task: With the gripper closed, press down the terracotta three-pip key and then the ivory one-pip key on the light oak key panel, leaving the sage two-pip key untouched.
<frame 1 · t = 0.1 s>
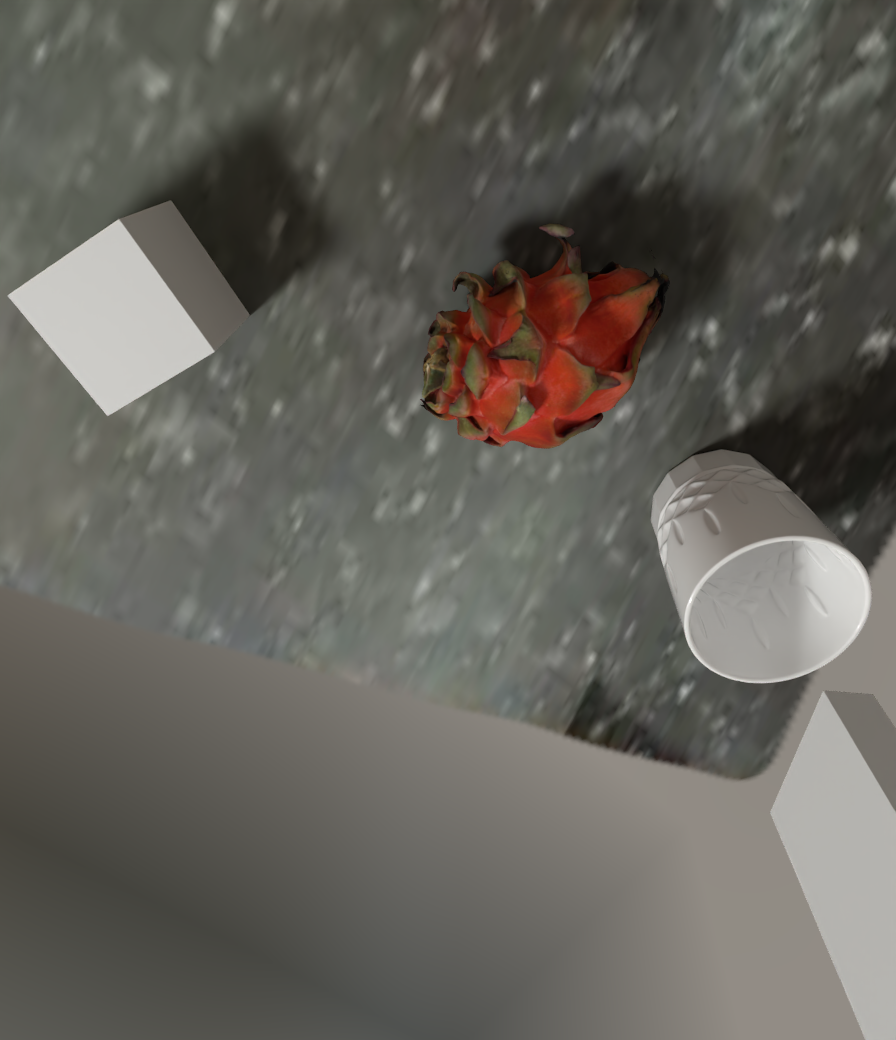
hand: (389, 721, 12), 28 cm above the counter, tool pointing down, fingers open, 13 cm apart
white cup: (711, 502, 42), on the counter
white cube: (164, 289, 37), on the counter
dragon fruit: (534, 322, 37), on the counter
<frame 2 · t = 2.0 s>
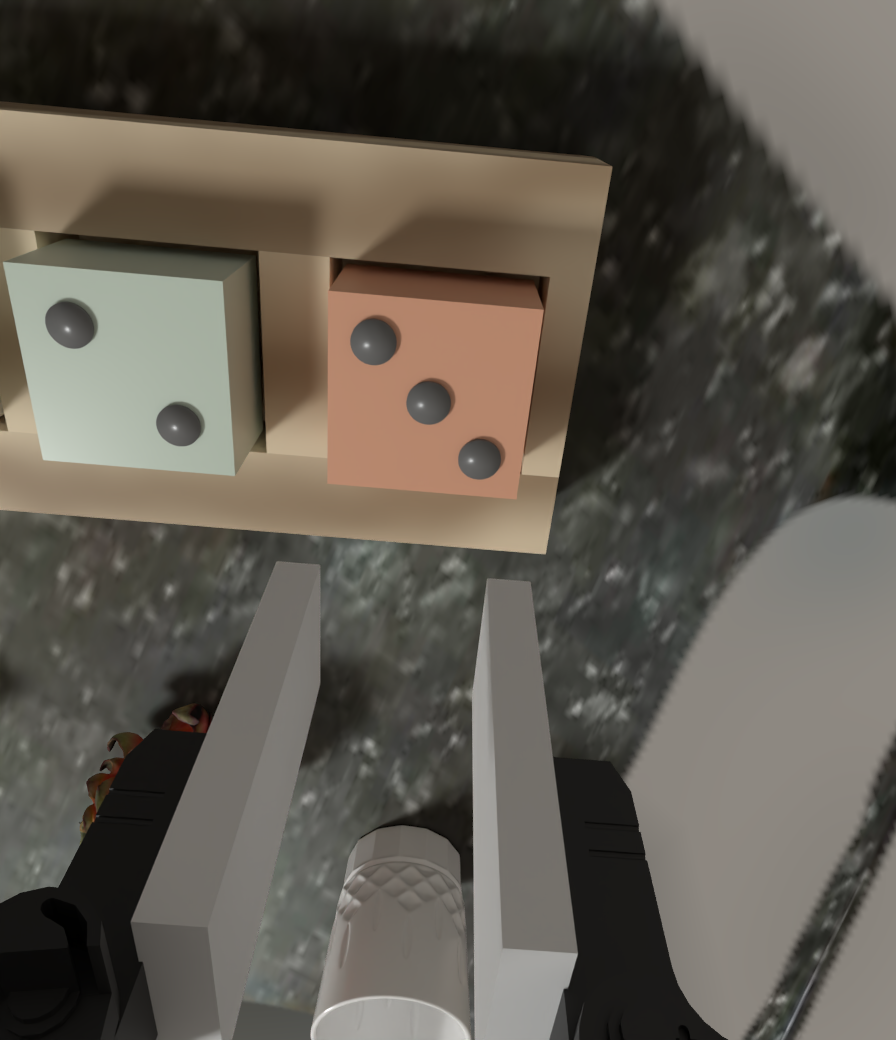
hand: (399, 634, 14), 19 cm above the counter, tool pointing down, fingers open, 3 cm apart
key panel: (194, 319, 30), on the counter
white cup: (405, 857, 46), on the counter
key two: (149, 357, 25), point 5 cm above the counter, slide at 0.0 cm
key three: (431, 381, 26), point 5 cm above the counter, slide at 0.0 cm
dragon fruit: (213, 736, 41), on the counter
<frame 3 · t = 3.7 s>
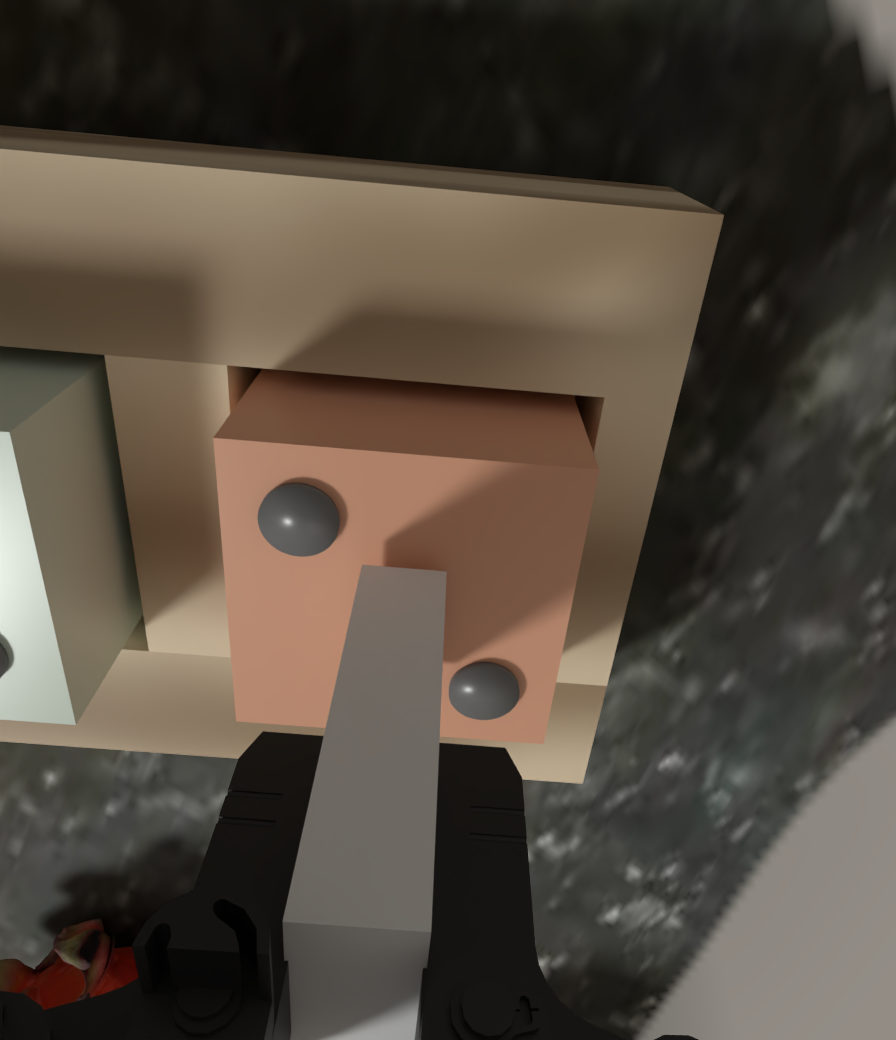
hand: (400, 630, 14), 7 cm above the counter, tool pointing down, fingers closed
key panel: (47, 430, 19), on the counter
key three: (405, 553, 16), point 4 cm above the counter, slide at 0.4 cm, touching gripper
dragon fruit: (129, 940, 31), on the counter
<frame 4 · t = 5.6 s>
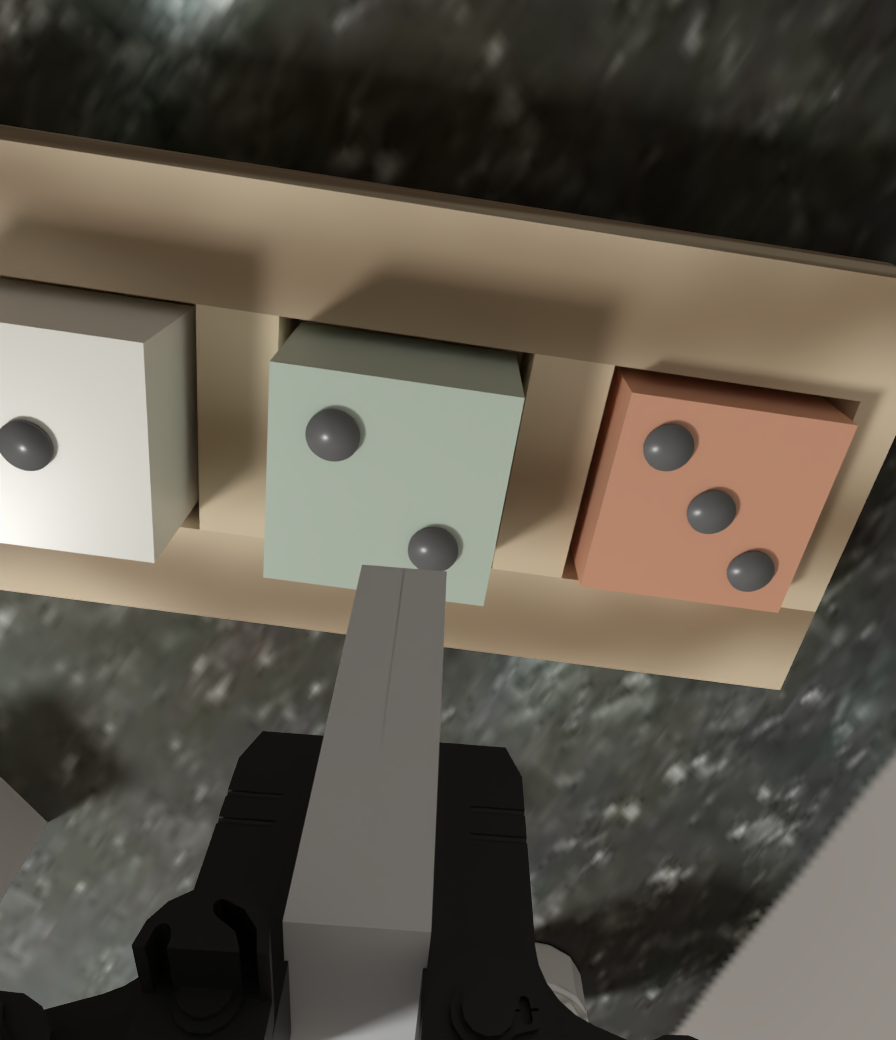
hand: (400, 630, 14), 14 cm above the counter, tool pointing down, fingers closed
key panel: (404, 407, 26), on the counter
white cup: (518, 972, 42), on the counter
key two: (391, 464, 22), point 5 cm above the counter, slide at 0.0 cm
key one: (61, 418, 22), point 5 cm above the counter, slide at 0.0 cm
key three: (693, 482, 24), point 3 cm above the counter, slide at 1.8 cm
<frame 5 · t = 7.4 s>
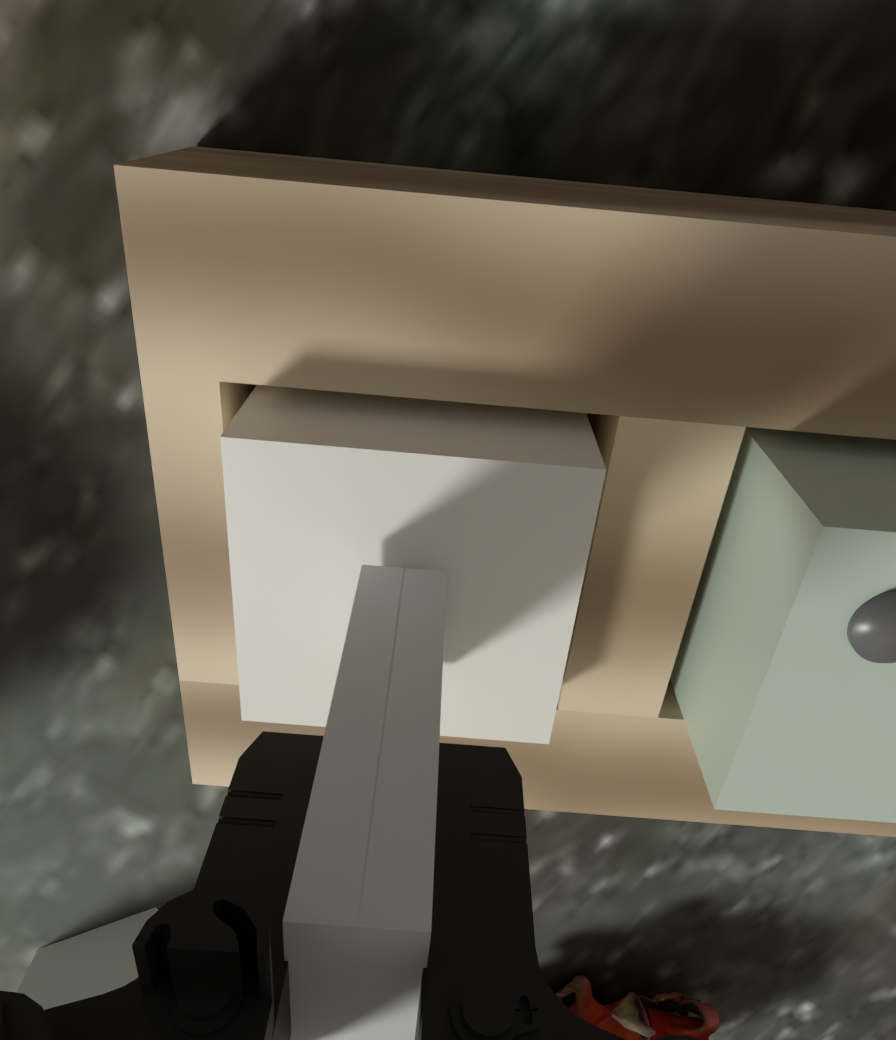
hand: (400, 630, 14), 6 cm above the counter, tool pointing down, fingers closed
key panel: (796, 508, 19), on the counter
key two: (890, 630, 15), point 5 cm above the counter, slide at 0.0 cm
key one: (410, 553, 16), point 4 cm above the counter, slide at 1.4 cm, touching gripper
white cube: (148, 961, 30), on the counter
dragon fruit: (593, 994, 31), on the counter
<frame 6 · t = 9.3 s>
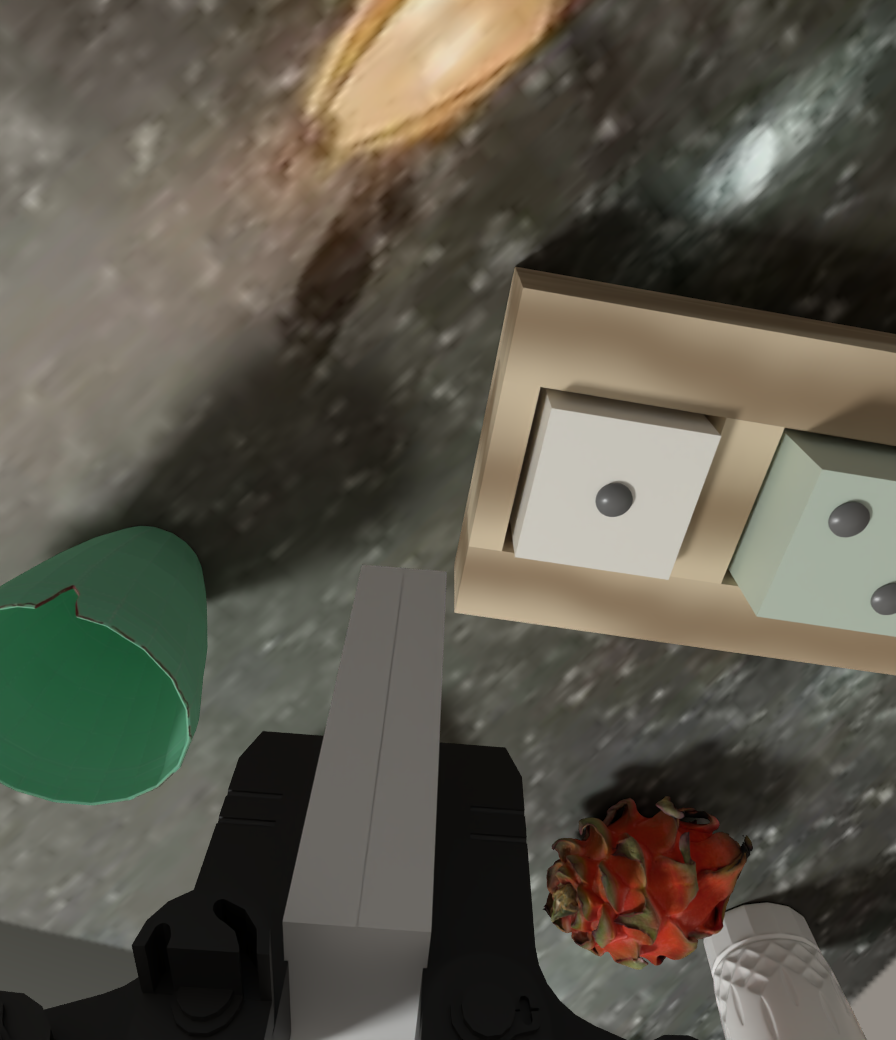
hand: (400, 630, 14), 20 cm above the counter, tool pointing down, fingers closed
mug: (111, 581, 37), on the counter
key panel: (796, 480, 34), on the counter
white cup: (753, 930, 50), on the counter
key two: (845, 534, 30), point 5 cm above the counter, slide at 0.0 cm
key one: (604, 477, 31), point 3 cm above the counter, slide at 1.8 cm
dragon fruit: (631, 818, 45), on the counter
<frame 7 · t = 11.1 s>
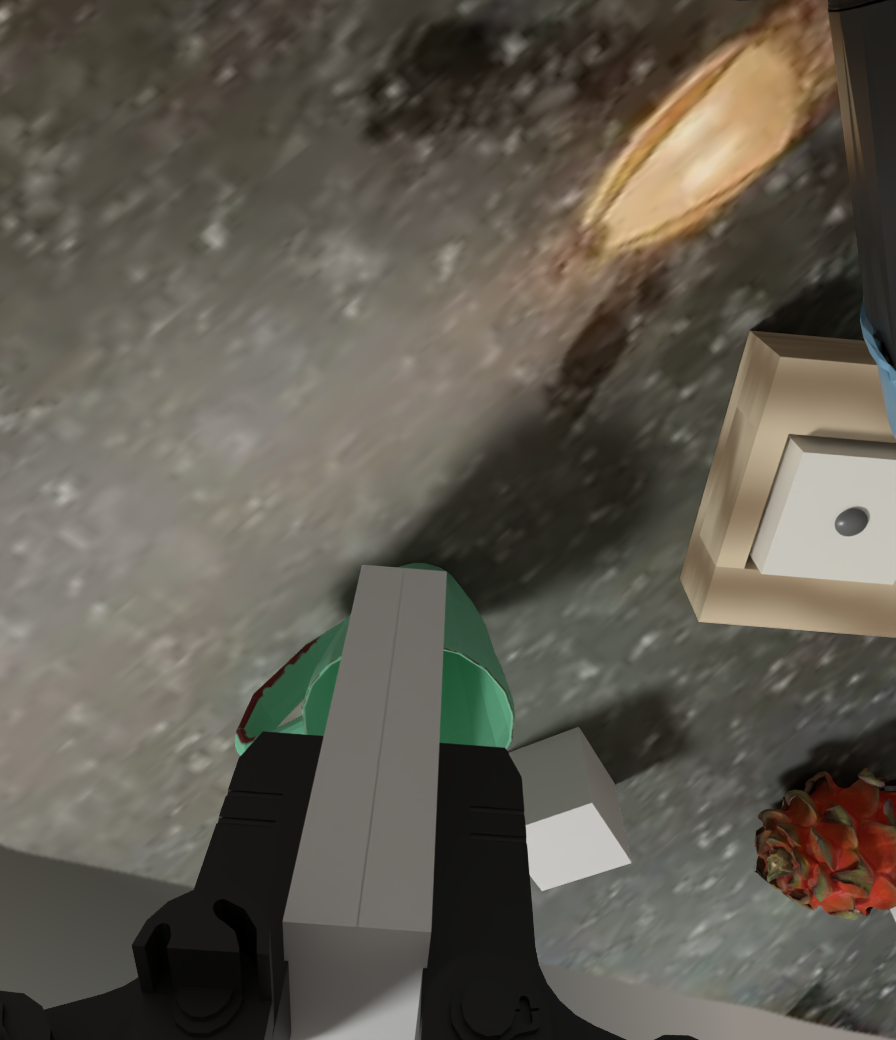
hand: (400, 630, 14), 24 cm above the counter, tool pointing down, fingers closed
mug: (383, 609, 44), on the counter
key one: (832, 501, 36), point 3 cm above the counter, slide at 1.8 cm
white cube: (555, 767, 50), on the counter
dragon fruit: (822, 789, 51), on the counter
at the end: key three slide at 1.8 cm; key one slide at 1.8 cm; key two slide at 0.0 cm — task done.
